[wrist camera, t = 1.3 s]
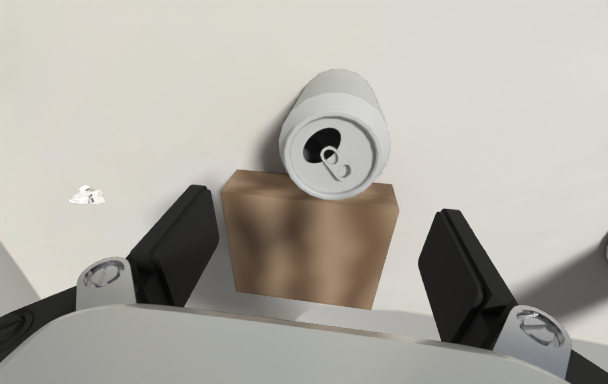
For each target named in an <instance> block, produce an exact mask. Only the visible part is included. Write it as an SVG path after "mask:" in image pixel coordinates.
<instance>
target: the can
mask: <svg viewBox="0 0 608 384" xmlns="http://www.w3.org/2000/svg"><path fill="white" fill-rule="evenodd" d="M390 146H391V140H390V135H389V131H388V126H387V123H386V121H385V118H384V116H383V113H382V111H381V108H380V106H379V103H378V100H377V98H376V95H375V93H374V91H373V89H372V88H371V86H370V85H369V83H368V81H367V80H365V79H364V78H363V77H361V76H360V75H359V74H358V73H355V72H352V71H349V70H346V69H331V70H328V71H325V72H323V73H320V74H318V75H317V76H316V77H315V78H313V79H312V80H311V81H310V82H309V83H308V84H307V86H306V87H305V89H304V90H303V92H302V94H301V95H300V97H299V99H298V100H297V102H296V104H295V105H294V107H293V109H292V110H291V112H290V114H289V115H288V117H287V119H286V120H285V122H284V124H283V125H282V129H281V133H280V138H279V151H280V158H281V160H282V163H283V165H284V167H285V169H286V171H287V173H288V174H289V176H290V178H291V179H292V180H293V181H294V183H295V184H296V185H297V186H298V187H299V188H300V189H302V190H303V191H305V192H306V193H308V194H309V195H311V196H314V197H317V198H321V199H324V200H342V199H346V198H351V197H354V196H356V195H357V194H359V193H361V192H363V191H365V190H366V189H367V188H368V187H369V186H370V185H371V184H372V183H373V182H374V181H375V180H376V179H377V177H378V176H379V175H380V174H381V173H382V171H383V169H384V167H385V165H386V163H387V162H388V160H389V154H390Z"/></svg>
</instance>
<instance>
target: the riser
mask: <svg viewBox="0 0 608 384" xmlns="http://www.w3.org/2000/svg"><path fill="white" fill-rule="evenodd" d="M221 196H222V202H223V209H224V215H225V222H226V228H227V235H228V242H229V248H230V255H231V261H232V268H233V275H234V281H235V288H236V292H243V293H250V294H258V295H265V296H272V297H279V298H287V299H294V300H301V301H308V302H316V303H323V304H330V305H337V306H345V307H352V308H359V309H366V310H371V309H372V305H373V302H374V298H375V295H376V291H377V288H378V284H379V280H380V277H381V273H382V270H383V266H384V263H385V259H386V256H387V252H388V249H389V245H390V242H391V238H392V235H393V231H394V228H395V224H396V221H397V217H398V214H399V208H398V204H397V201H396V197H395V193H394V190H393V186H392V184H381V183H372V184H371V185H370V186H369V187H368V188H367V189H366V190H365V191H363V192H361V193H359V194H357V195H356V196H354V197H351V198H346V199H342V200H324V199H321V198H317V197H314V196H311V195H309V194H308V193H306V192H305V191H303V190H302V189H300V188H299V187H298V186H297V185H296V184H295V183H294V181H293V180H292V179H291V178H290V176H289V174H279V173H268V172H258V171H248V170H236V172H235V173H234V175H233V176H232V177H231V179H230V180H229V181H228V183H227V184H226V186H225V187H224V188H223V190H222V191H221Z"/></svg>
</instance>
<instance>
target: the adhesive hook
mask: <svg viewBox="0 0 608 384" xmlns="http://www.w3.org/2000/svg"><path fill="white" fill-rule="evenodd" d="M89 188H90V187H89V186H85V185H84V186H82V187H81V188H80V189H79V193H77V194H76V195H75V196H74V197H73V199H72V200H69V202H73V203H81V204H88V203H89V204H100V203H104V202H105V201H104V199H103V198H102V196H101V195H103V192H102V190H98V189H97V190H95V191H90V190H87V189H89Z"/></svg>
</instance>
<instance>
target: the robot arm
mask: <svg viewBox="0 0 608 384" xmlns="http://www.w3.org/2000/svg"><path fill="white" fill-rule="evenodd" d="M218 242H219V234H218V228H217V222H216V217H215V211H214V206H213V200H212V194H211V191H210V190H208V189H207V187H206V186H202V185H190V186H189V187H188V188H187V190H186V191H185V192H184V193H183V194H182V195H181V196H180V197H179V198H178V200H177V201H176V202H175V203H174V204H173V205H172V206H171V207H170V208H169V209H168V211H167V212H166V213H165V214H164V215H163V216H162V217H161V218H160V219H159V221H158V222H157V223H156V224H155V225H154V226H153V227H152V228H151V229H150V231H149V232H148V233H147V234H146V235H145V236H144V237H143V238H142V239H141V241H140V242H139V243H138V244H137V245H136V246H135V247H134V248H133V249H132V251H131V252H130V254H129V255H128V256H127V257H126V258H122V257H110V258H106V259H102V260H100V261H98V262H95V263H94V264H92V265H90V266H89V267H88V268H86V269H85V270H84V271H83V272H82V273H81V275H80V276H79V278H78V281H77V286H75V287H72V288H70V289H67V290H65V291H62V292H60V293H57V294H55V295H52V296H50V297H47V298H45V299H42V300H40V301H38V302H35V303H33V304H30V305H28V306H25V307H23V308H20V309H18V310H15V311H13V312H10V313H8V314H6V315H4V316H2V317H0V384H608V373H607V372H606V371H604V370H603V369H601V368H600V367H598V366H597V365H595V364H594V363H592V362H590V361H589V360H587V359H586V358H584V357H583V356H581V355H580V354H578V353H577V352H575V351H574V350H572V349H571V347H572V344H571V339H570V336H569V334H568V332H567V331H566V330H565V329H564V327H563V326H562V325H561V324H560V323H559V322H558V321H556V320H555V319H554V318H553V317H551V316H550V315H548V314H547V313H545V312H543V311H541V310H539V309H537V308H534V307H531V306H527V305H518V303H517V302H516V300H515V299H514V297H513V295H512V294H511V292H510V290H509V289H508V287H507V286H506V284H505V282H504V281H503V279H502V277H501V276H500V274H499V273H498V271H497V269H496V268H495V266H494V264H493V263H492V261H491V260H490V258H489V256H488V255H487V253H486V252H485V250H484V249H483V247H482V245H481V244H480V242H479V240H478V239H477V237H476V236H475V234H474V232H473V231H472V229H471V228H470V226H469V224H468V223H467V221H466V219H465V218H464V216H463V215H462V213H461V212H460V210H453V209H442V210H441V212H437V213H436V215H435V217H434V220H433V223H432V225H431V228H430V231H429V233H428V236H427V238H426V241H425V244H424V246H423V249H422V252H421V254H420V257H419V260H418V267H419V270H420V274H421V277H422V280H423V283H424V287H425V290H426V293H427V296H428V299H429V303H430V306H431V309H432V312H433V316H434V319H435V322H436V325H437V328H438V332H439V334H440V338H441V341H442V342H441V341H434V340H428V339H421V338H415V337H407V336H400V335H392V334H385V333H378V332H370V331H363V330H356V329H349V328H341V327H334V326H326V325H319V324H311V323H304V322H296V321H288V320H281V319H273V318H265V317H257V316H249V315H242V314H234V313H226V312H218V311H210V310H202V309H193V308H184V306H185V304H186V302H187V300H188V299H189V297H190V295H191V293H192V291H193V289H194V287H195V286H196V284H197V282H198V280H199V278H200V276H201V275H202V273H203V271H204V269H205V267H206V265H207V264H208V262H209V260H210V258H211V256H212V254H213V253H214V251H215V249H216V247H217V245H218ZM606 257H607V260H608V246H607V249H606Z"/></svg>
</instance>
